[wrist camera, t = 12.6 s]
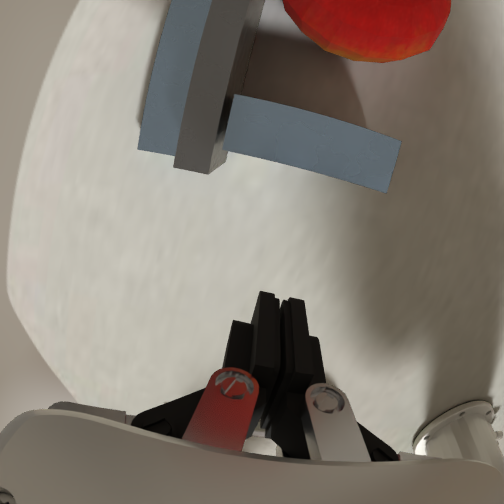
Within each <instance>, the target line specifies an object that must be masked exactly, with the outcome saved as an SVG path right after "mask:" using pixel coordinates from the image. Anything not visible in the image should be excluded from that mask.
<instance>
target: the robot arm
mask: <svg viewBox="0 0 504 504" xmlns="http://www.w3.org/2000/svg"><path fill="white" fill-rule="evenodd" d="M260 418H261V419H260ZM493 418H494V410H493V408H492V406H491V404H490V403H488V402H486V401H473V402H468V403H465V404H462V405H460V406H457V407H455V408H453V409H451V410H449V411H447V412H446V413H444V414H442V415H441V416H439V417H438V418H436V419H435V420H434V421H432V422H431V423H430V424H429V425H428V426H426V427H425V428H424V429H423V430H422V431H421V433H420V434H419V435H418V436H417V438H416V439H415V442H414V444H413V451H414V454H412V453H406V452H399V453H398V454H396V452H395V451H394V450H393V449H392V448H391V447H390V446H388V445H387V444H386V443H384V442H383V441H382V440H380V439H379V438H378V437H376V436H375V435H374V434H372V433H371V432H370V431H369V430H367V429H366V428H365V427H363V426H362V425H361V424H359V423H358V422H357V421H356V418H355V416H354V413H353V410H352V408H351V405H350V403H349V400H348V398H347V396H346V395H345V394H344V393H343V392H342V391H341V390H340V389H339V388H337V387H335V386H333V385H330V384H326V380H325V374H324V367H323V361H322V355H321V349H320V343H319V339H318V338H317V337H314V336H309V330H308V323H307V316H306V309H305V302H304V300H300V299H296V298H291V297H290V298H289V299H288V301H287V300H283V301H282V304H281V307H280V301H279V299H277V298H275V294H273V293H268V292H263V291H260V292H259V296H258V299H257V303H256V306H255V310H254V313H253V317H252V321H251V324H249V323H245V322H240V321H236V320H233V322H232V326H231V330H230V334H229V339H228V343H227V347H226V352H225V357H224V362H223V367H222V369H219V370H217V371H216V372H214V373H213V375H212V376H211V378H210V380H209V382H208V384H207V386H206V388H204V389H201V390H199V391H196V392H194V393H191V394H189V395H186V396H184V397H181V398H179V399H176V400H173V401H171V402H168V403H166V404H163V405H160V406H157V407H155V408H152V409H149V410H146V411H144V412H142V413H140V414H138V415H137V416H133V415H126V411H119V410H112V409H106V408H99V407H93V406H88V405H82V404H77V403H71V402H58V403H54V404H53V405H52V406H50V407H49V408H48V409H39V410H31V411H27V412H24V413H22V414H21V415H19V416H17V417H15V418H14V419H13V420H12V421H11V422H10V423H9V424H8V425H7V426H6V427H5V428H4V429H3V430H2V431H1V433H0V504H504V457H503V455H502V452H501V450H500V448H499V446H498V445H499V443H498V441H497V440H500V439H501V438H502V437H503V432H502V431H496V432H494V430H493V428H492V426H491V423H492V420H493ZM259 420H260V428H261V429H265V438H270V439H272V440H273V441H274V442H275V443H276V444H277V447H276V456H269V455H261V454H254V453H248V452H241V451H242V448H243V445H244V441H245V439H247V438H249V437H251V436H252V434H253V432H254V430H255V428H256V427H257V425H258V422H259ZM13 497H14V498H13Z"/></svg>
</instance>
